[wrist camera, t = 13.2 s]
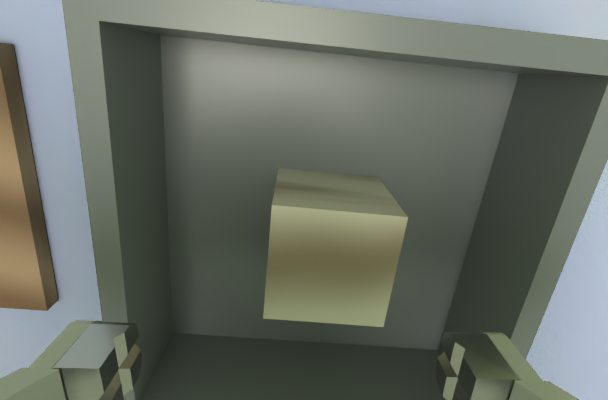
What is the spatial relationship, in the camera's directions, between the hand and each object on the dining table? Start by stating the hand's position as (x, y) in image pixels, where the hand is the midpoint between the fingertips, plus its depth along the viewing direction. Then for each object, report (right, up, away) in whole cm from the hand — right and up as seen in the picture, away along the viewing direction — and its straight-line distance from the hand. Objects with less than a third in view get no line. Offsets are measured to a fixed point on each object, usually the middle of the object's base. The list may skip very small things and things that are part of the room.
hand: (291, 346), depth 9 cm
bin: (+1, +3, +10) cm, 10 cm away
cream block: (+1, +3, +9) cm, 9 cm away
